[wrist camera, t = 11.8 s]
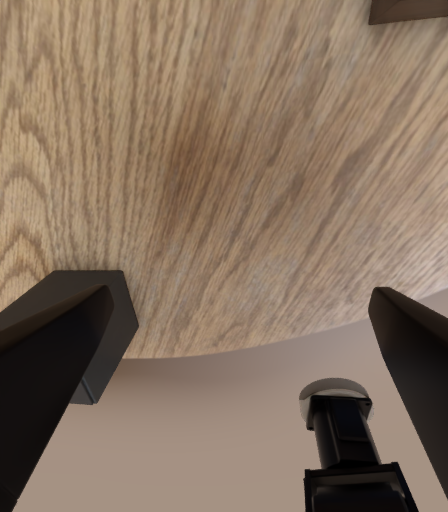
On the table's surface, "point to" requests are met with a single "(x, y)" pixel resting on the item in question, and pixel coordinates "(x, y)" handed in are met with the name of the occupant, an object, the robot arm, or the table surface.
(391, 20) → the holder
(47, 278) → the block
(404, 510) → the robot arm
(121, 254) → the table surface
